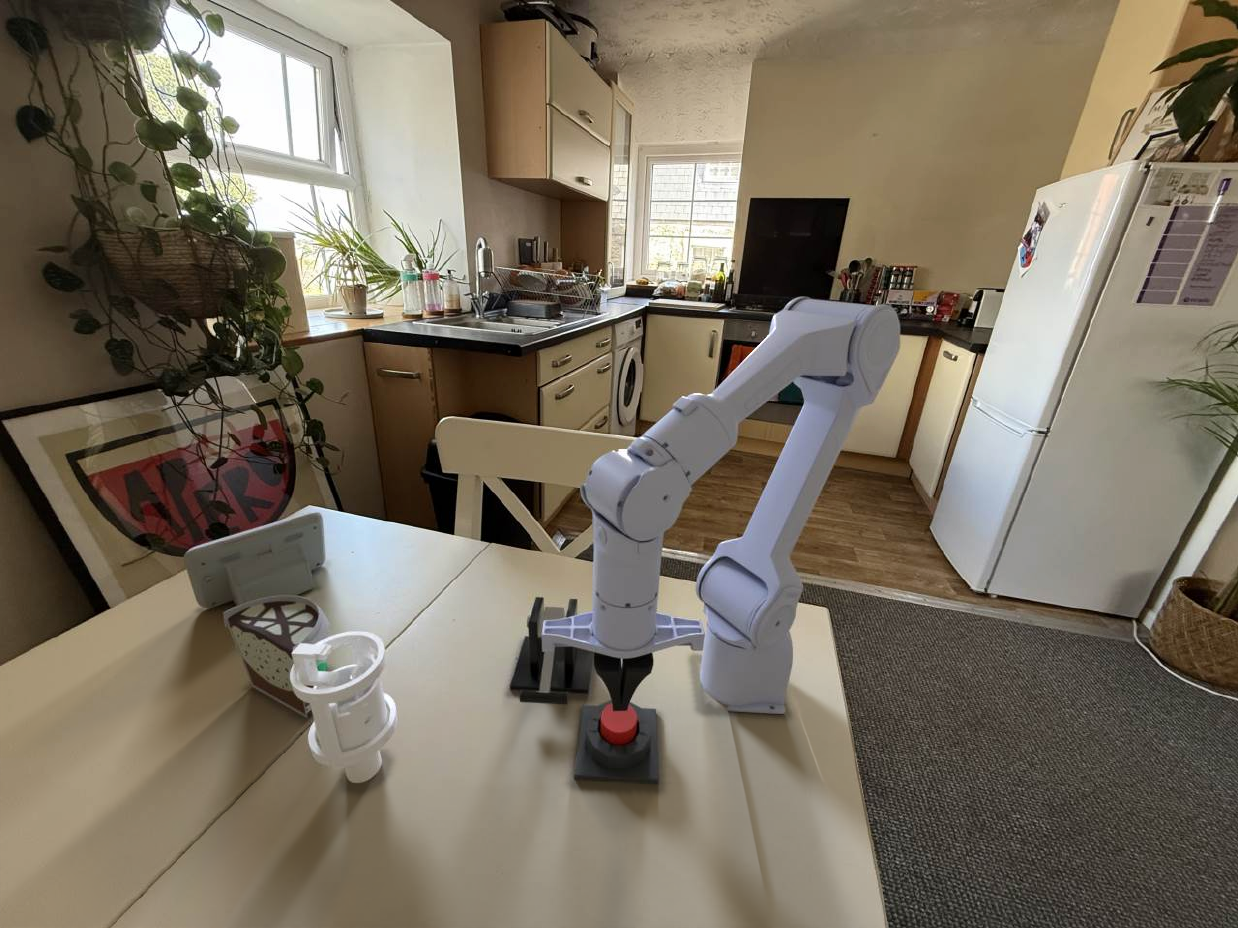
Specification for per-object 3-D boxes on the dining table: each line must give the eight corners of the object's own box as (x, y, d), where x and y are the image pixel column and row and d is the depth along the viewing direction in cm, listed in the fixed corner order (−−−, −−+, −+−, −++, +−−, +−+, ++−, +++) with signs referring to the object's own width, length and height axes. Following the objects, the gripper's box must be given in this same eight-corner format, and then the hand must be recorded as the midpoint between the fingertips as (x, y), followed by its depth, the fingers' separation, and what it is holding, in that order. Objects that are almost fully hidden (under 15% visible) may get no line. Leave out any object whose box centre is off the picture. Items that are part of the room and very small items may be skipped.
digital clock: (329, 558, 79) (316, 499, 75) (340, 587, 73) (326, 524, 69) (200, 594, 70) (177, 529, 66) (199, 631, 64) (173, 561, 59)
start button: (636, 715, 51) (637, 702, 51) (636, 746, 48) (637, 733, 47) (601, 713, 51) (602, 700, 51) (599, 744, 48) (599, 731, 47)
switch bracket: (588, 697, 56) (589, 636, 53) (509, 693, 56) (505, 632, 53) (594, 646, 64) (595, 590, 60) (524, 642, 64) (521, 586, 60)
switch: (567, 706, 53) (566, 702, 51) (521, 704, 53) (518, 699, 51) (577, 615, 59) (576, 607, 57) (535, 613, 59) (532, 605, 57)
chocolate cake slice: (367, 682, 57) (352, 612, 53) (317, 723, 52) (296, 649, 48) (296, 646, 62) (277, 580, 58) (243, 681, 56) (219, 611, 53)
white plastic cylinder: (348, 736, 51) (319, 619, 45) (417, 740, 50) (396, 622, 45) (306, 807, 44) (266, 680, 38) (384, 811, 44) (356, 684, 38)
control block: (655, 716, 54) (657, 695, 53) (658, 788, 47) (660, 766, 46) (582, 712, 54) (582, 691, 53) (574, 783, 47) (574, 761, 46)
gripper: (699, 561, 47) (686, 669, 52) (545, 560, 46) (548, 671, 51) (716, 609, 41) (699, 728, 46) (537, 609, 40) (541, 731, 45)
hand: (619, 702), depth 48 cm, fingers closed
